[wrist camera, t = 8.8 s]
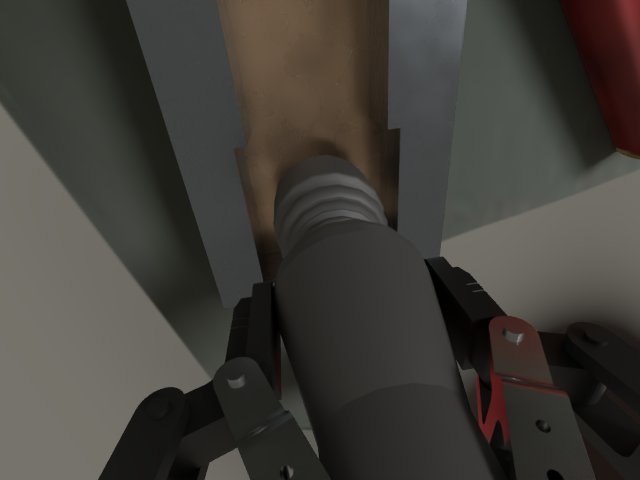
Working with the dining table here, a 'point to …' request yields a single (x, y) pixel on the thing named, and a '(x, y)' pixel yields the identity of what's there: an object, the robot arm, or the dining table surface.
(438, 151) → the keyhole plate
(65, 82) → the dining table surface
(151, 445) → the robot arm
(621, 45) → the hardcover book
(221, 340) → the dining table surface
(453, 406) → the candle holder
